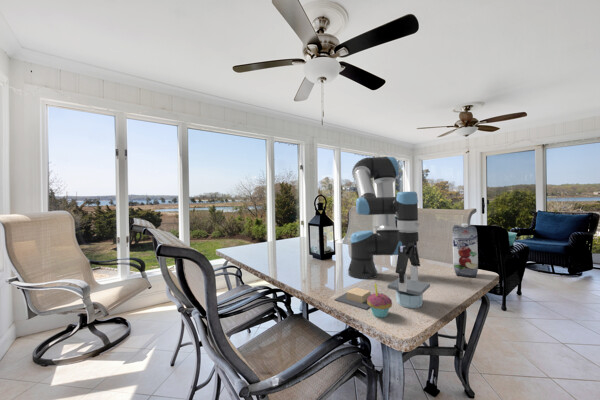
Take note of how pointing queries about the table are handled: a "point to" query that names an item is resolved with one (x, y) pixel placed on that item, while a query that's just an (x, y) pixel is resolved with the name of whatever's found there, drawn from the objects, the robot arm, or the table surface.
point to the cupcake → (379, 303)
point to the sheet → (411, 286)
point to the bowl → (409, 299)
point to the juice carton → (465, 250)
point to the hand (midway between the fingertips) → (408, 286)
